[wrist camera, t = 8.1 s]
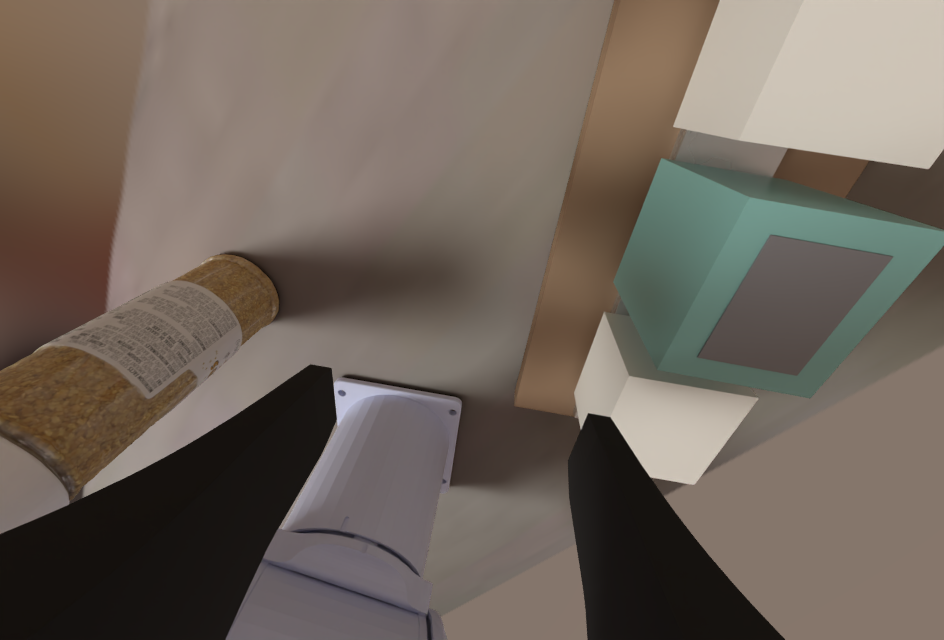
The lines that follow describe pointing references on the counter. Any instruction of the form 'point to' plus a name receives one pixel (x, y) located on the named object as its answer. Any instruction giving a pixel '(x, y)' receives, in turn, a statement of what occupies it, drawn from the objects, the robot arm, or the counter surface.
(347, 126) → the counter surface
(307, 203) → the counter surface
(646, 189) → the rail board
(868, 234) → the block
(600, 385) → the mounted modules
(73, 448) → the sprinkles bottle
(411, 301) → the counter surface
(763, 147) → the rail
